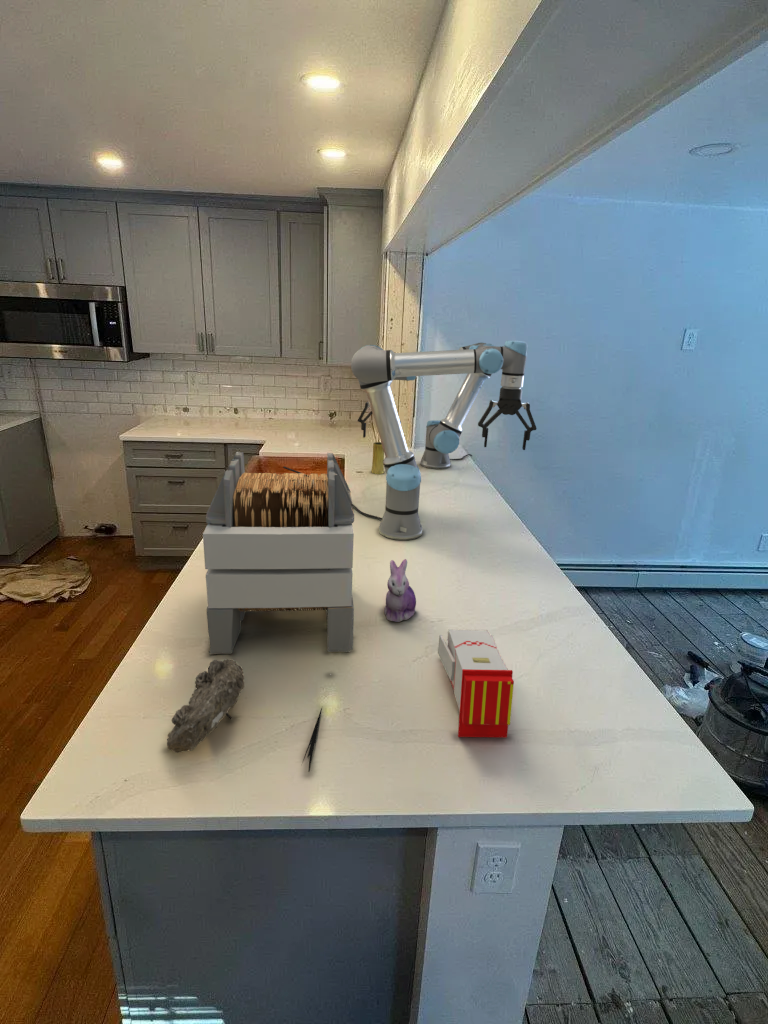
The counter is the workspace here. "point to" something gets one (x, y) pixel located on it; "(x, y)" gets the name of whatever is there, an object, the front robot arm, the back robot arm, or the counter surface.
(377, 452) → the olive drinking cup
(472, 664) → the toy
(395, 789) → the counter surface
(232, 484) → the record storage crate
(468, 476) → the counter surface
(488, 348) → the front robot arm
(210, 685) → the fossil
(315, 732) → the feather
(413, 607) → the figurine
